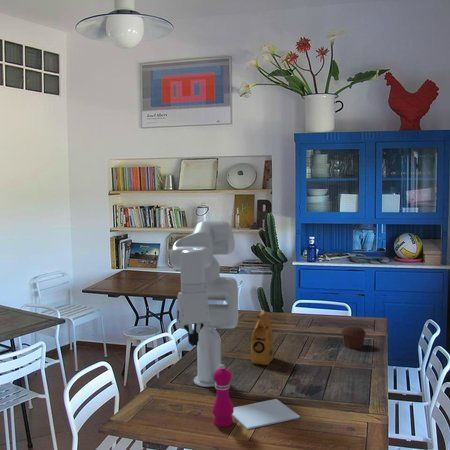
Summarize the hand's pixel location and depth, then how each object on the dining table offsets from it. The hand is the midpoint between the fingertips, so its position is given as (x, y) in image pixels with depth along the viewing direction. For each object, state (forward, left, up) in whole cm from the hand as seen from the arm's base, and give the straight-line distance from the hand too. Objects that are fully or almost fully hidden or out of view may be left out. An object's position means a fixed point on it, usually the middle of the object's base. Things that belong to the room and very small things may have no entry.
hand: (193, 344), depth 169 cm
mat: (0, +25, -28) cm, 38 cm away
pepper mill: (0, +10, -28) cm, 30 cm away
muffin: (-48, +101, -28) cm, 116 cm away
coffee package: (-49, +51, -28) cm, 76 cm away
